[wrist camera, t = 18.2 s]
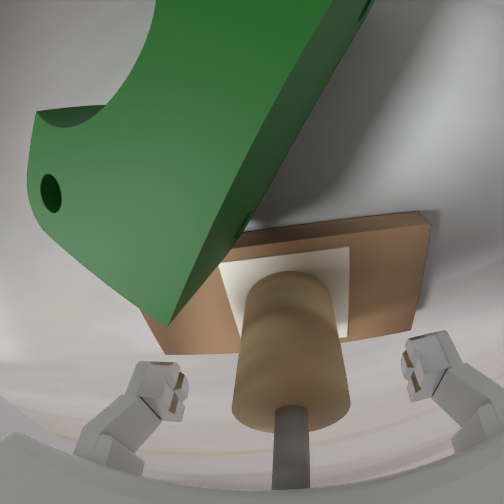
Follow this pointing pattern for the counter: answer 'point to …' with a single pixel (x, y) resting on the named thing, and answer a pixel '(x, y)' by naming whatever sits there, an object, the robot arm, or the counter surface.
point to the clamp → (185, 141)
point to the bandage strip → (318, 265)
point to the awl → (290, 370)
